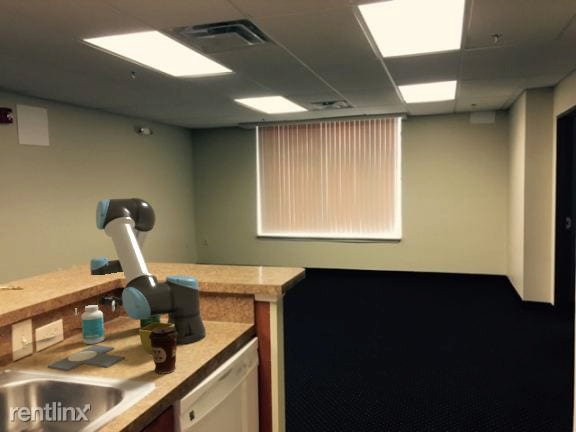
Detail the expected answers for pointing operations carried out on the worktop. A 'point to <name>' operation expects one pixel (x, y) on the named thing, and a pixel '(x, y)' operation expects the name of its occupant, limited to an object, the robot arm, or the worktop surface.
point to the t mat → (88, 358)
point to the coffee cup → (164, 348)
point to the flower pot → (147, 331)
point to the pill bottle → (92, 325)
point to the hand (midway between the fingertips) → (94, 310)
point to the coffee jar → (149, 321)
